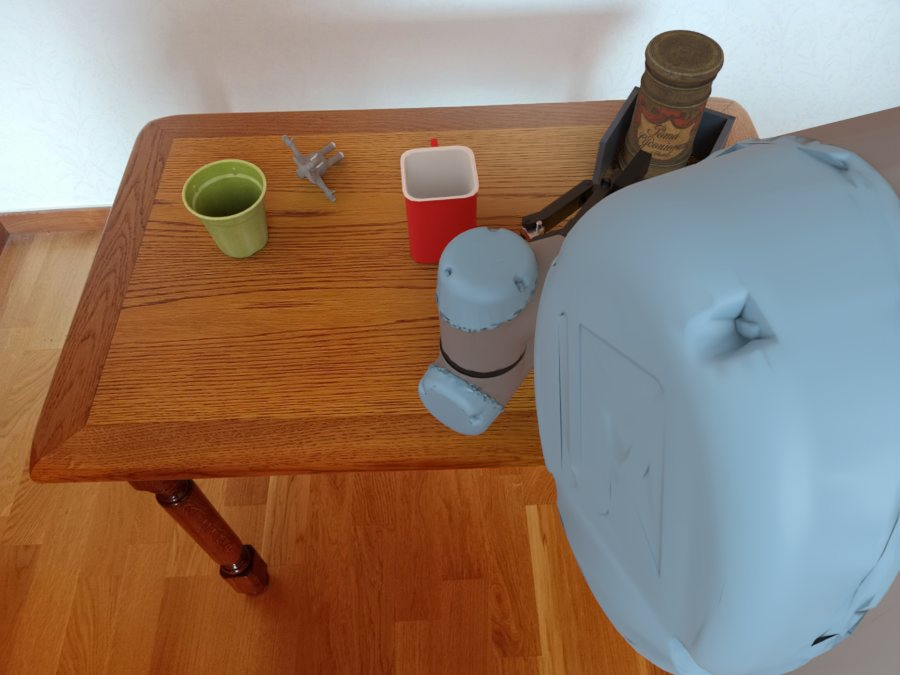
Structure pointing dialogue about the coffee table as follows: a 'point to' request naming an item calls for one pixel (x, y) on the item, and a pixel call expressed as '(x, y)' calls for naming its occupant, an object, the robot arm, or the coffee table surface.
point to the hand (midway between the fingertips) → (643, 161)
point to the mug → (438, 197)
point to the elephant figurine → (314, 164)
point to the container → (671, 99)
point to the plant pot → (230, 205)
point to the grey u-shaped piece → (705, 142)
